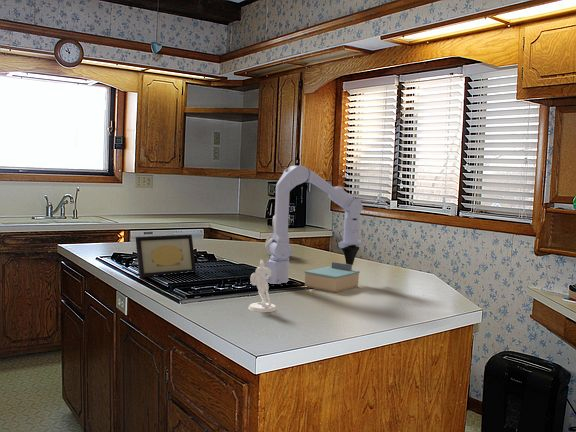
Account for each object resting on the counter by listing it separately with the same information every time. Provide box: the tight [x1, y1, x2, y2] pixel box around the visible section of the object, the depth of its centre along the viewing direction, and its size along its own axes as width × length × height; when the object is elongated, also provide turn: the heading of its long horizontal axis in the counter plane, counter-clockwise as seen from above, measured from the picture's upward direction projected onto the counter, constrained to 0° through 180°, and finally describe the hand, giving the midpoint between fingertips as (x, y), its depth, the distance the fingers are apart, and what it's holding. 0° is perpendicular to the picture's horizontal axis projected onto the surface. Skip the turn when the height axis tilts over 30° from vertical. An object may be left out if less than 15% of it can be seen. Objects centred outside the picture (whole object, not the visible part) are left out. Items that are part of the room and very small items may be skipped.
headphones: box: [264, 214, 275, 256], centre depth 278 cm, size 18×10×20 cm, turn 4°
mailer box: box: [304, 272, 360, 294], centre depth 213 cm, size 16×13×5 cm
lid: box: [304, 261, 361, 279], centre depth 212 cm, size 16×13×3 cm
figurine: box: [247, 259, 278, 313], centre depth 175 cm, size 9×9×15 cm
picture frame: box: [134, 234, 197, 279], centre depth 222 cm, size 23×9×15 cm, turn 129°
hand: (349, 265), depth 222 cm, fingers closed
